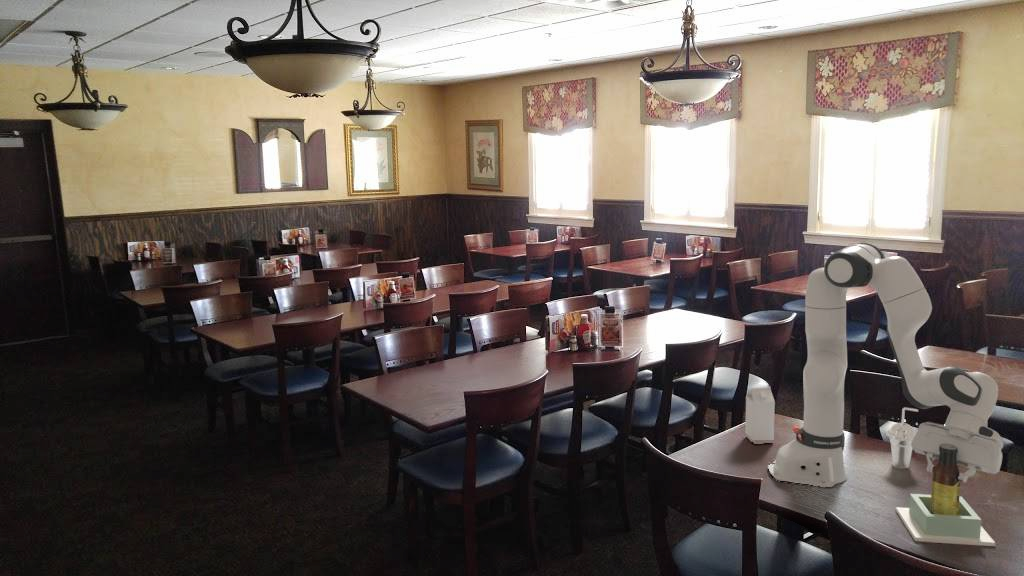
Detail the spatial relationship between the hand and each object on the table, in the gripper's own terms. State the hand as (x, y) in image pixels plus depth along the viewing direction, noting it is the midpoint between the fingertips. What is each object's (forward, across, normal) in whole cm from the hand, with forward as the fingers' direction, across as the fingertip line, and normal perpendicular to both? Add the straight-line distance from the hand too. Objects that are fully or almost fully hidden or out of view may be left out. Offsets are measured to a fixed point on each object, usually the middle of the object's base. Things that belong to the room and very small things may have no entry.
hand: (945, 476), depth 185 cm
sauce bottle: (+8, 0, +9) cm, 12 cm away
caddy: (+10, 0, +11) cm, 14 cm away
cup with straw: (-11, -24, +32) cm, 41 cm away
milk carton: (-2, -65, +22) cm, 68 cm away
